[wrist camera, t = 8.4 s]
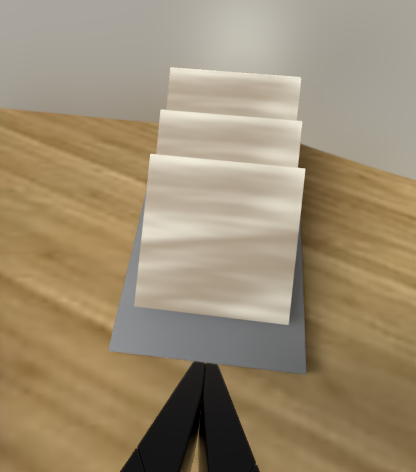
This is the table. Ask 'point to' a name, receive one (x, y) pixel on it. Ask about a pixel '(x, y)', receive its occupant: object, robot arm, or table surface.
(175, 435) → the robot arm
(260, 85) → the domino
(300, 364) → the board
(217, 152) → the domino
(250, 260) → the domino
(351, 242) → the table surface
